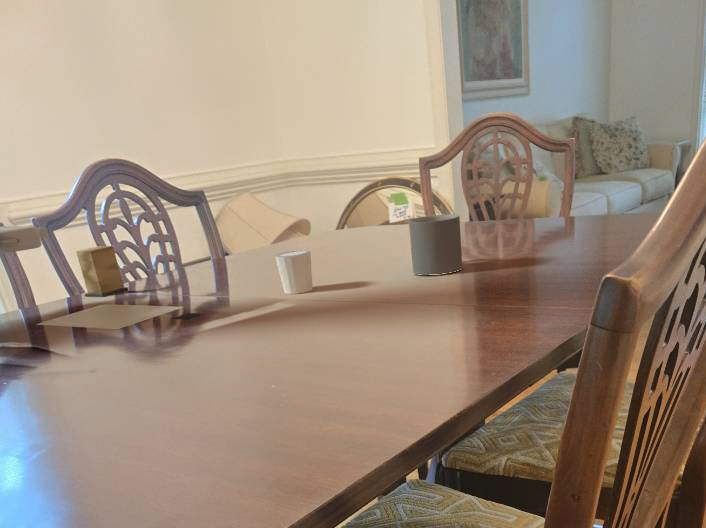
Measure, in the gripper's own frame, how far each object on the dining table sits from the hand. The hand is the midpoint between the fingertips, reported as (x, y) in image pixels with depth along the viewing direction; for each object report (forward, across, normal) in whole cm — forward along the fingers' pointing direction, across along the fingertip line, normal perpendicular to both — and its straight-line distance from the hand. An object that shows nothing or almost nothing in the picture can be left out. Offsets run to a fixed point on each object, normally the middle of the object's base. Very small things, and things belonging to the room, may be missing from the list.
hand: (29, 232), depth 147 cm
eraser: (+14, -1, +15) cm, 20 cm away
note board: (-4, -22, +15) cm, 26 cm away
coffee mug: (+44, -64, +14) cm, 80 cm away
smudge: (-2, -40, +14) cm, 42 cm away
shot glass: (+24, -44, +14) cm, 52 cm away
